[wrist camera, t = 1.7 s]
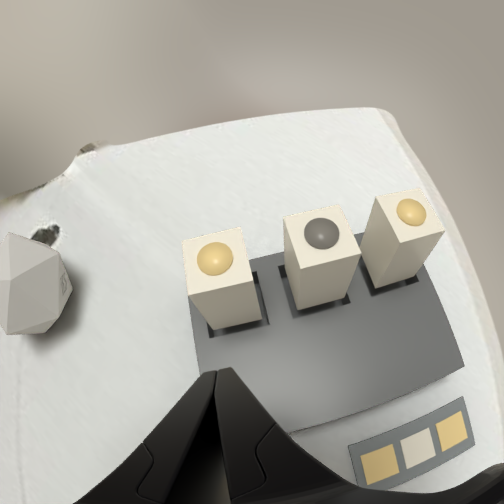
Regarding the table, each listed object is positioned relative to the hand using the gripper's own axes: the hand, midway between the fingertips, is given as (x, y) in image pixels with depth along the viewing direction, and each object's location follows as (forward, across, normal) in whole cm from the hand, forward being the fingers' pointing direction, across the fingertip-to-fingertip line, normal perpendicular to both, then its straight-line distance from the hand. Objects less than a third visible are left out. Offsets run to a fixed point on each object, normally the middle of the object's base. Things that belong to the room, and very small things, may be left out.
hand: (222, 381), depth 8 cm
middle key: (+12, -5, +2) cm, 13 cm away
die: (+18, +18, +1) cm, 25 cm away
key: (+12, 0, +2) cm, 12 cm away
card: (+5, -10, +14) cm, 18 cm away
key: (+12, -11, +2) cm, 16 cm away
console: (+12, -6, +7) cm, 15 cm away
